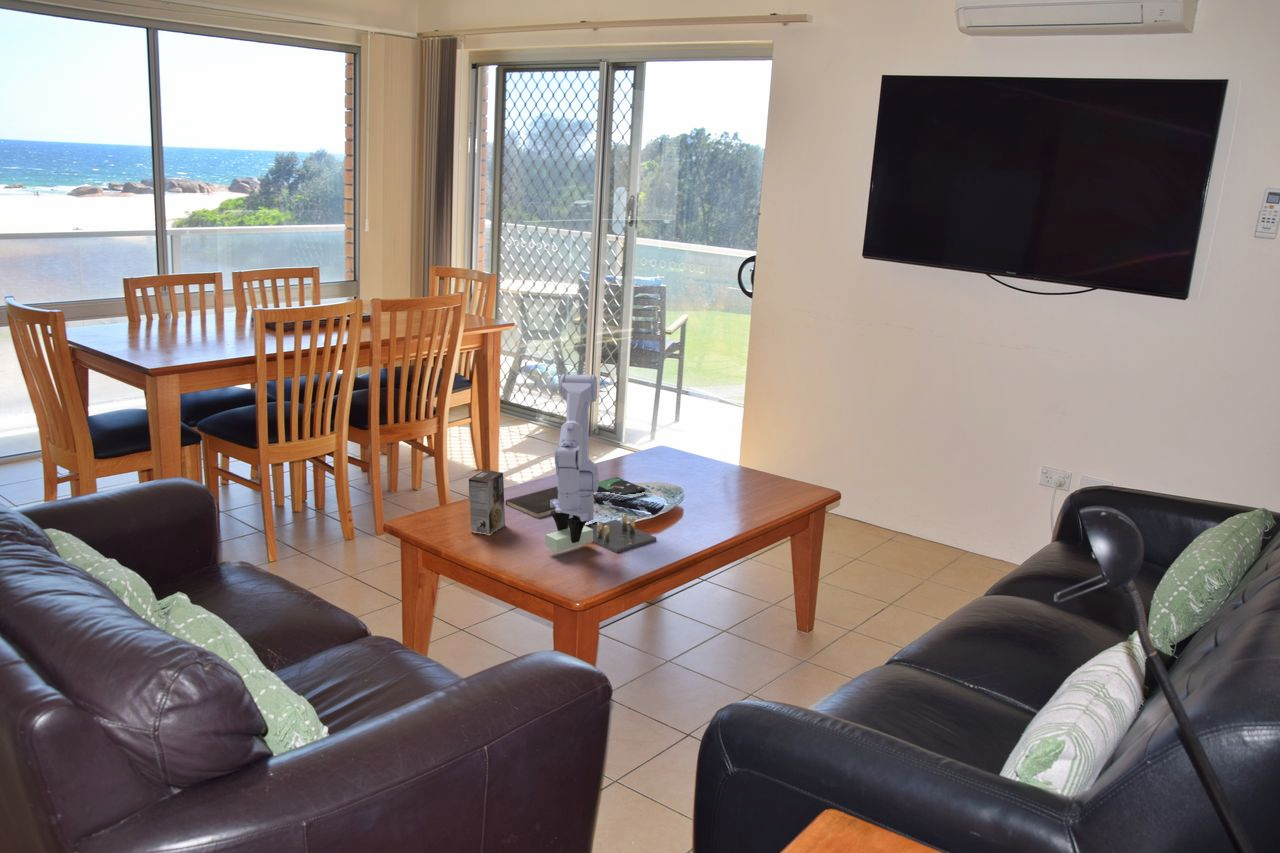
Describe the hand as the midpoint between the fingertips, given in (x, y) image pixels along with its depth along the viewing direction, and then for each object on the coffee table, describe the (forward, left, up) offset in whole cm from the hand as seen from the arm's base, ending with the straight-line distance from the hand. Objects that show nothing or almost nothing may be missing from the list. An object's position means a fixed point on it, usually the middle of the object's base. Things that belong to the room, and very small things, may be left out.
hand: (569, 538), depth 276 cm
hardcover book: (-35, +19, -4) cm, 40 cm away
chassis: (0, +16, -4) cm, 16 cm away
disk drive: (-30, +41, -4) cm, 51 cm away
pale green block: (0, 0, -2) cm, 2 cm away
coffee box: (-28, -8, -4) cm, 29 cm away
